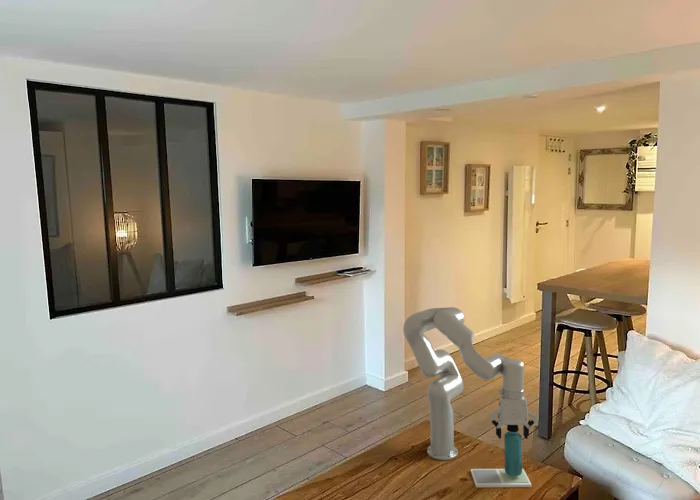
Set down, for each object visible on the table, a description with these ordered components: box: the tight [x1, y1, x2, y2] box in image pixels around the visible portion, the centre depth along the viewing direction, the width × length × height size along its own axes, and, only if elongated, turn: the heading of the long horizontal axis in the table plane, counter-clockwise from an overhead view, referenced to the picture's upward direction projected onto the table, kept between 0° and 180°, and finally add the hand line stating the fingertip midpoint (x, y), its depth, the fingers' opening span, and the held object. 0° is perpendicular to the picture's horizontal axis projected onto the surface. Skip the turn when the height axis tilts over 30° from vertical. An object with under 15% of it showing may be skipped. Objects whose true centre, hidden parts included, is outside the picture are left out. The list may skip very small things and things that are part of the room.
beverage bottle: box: [503, 425, 523, 476], centre depth 194 cm, size 6×7×20 cm
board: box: [470, 468, 533, 488], centre depth 195 cm, size 20×11×1 cm, turn 87°
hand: (512, 437), depth 193 cm, fingers open, 9 cm apart
